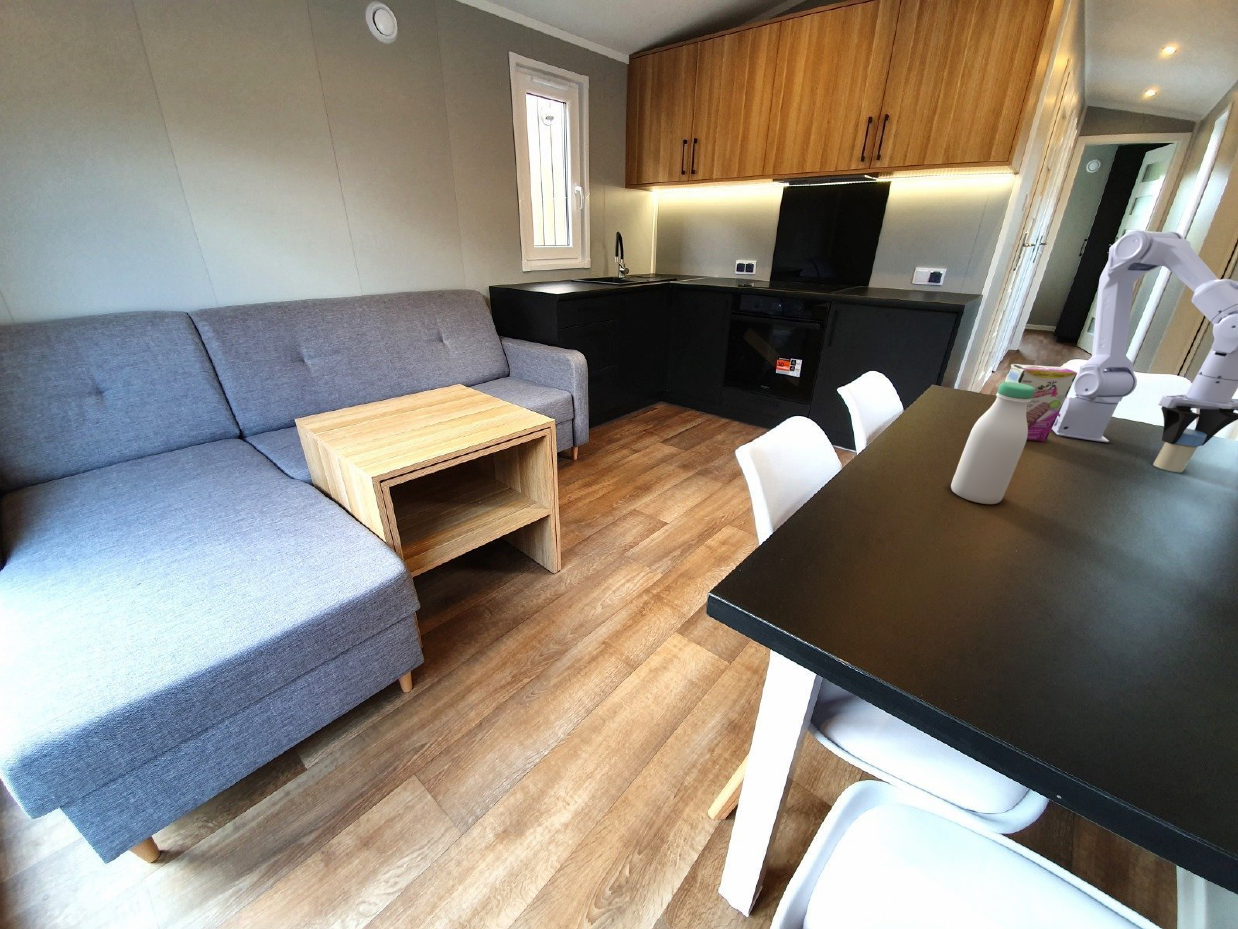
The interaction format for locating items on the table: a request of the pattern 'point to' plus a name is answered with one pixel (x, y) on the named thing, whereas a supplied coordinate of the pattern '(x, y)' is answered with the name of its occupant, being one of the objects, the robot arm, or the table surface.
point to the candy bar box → (1042, 395)
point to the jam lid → (1192, 438)
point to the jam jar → (1174, 457)
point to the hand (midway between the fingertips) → (1181, 442)
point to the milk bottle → (994, 446)
